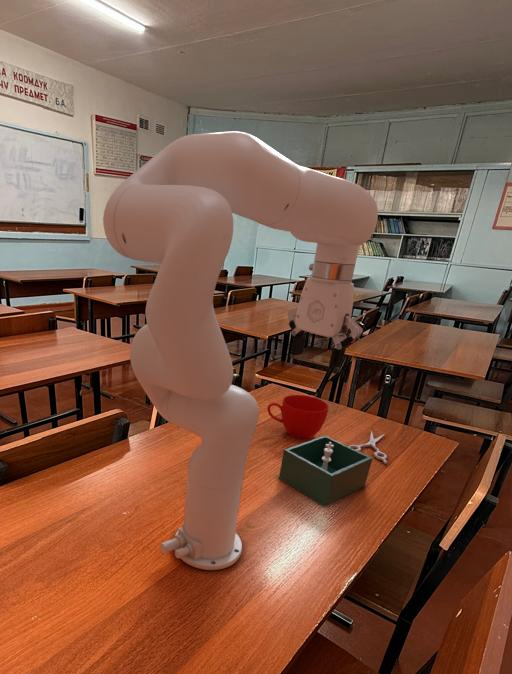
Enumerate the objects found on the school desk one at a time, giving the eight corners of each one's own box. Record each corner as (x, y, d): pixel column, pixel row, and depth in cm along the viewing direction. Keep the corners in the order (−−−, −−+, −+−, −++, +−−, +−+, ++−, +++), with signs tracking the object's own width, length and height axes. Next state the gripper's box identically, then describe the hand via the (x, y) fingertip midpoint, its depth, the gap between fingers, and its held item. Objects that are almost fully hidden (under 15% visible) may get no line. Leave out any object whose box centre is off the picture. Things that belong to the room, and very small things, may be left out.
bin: (324, 506, 96) (332, 476, 92) (278, 478, 105) (283, 449, 102) (364, 486, 105) (372, 458, 101) (319, 461, 114) (325, 435, 111)
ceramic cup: (264, 421, 135) (268, 391, 131) (319, 428, 134) (325, 397, 130) (264, 439, 124) (269, 406, 120) (324, 447, 122) (331, 414, 118)
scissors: (346, 450, 120) (360, 425, 136) (345, 452, 120) (360, 428, 136) (386, 462, 115) (397, 435, 131) (386, 464, 115) (396, 437, 131)
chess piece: (333, 486, 102) (342, 448, 98) (311, 483, 102) (320, 445, 98) (331, 476, 106) (340, 439, 102) (310, 472, 107) (318, 436, 103)
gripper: (284, 267, 86) (271, 351, 93) (361, 279, 74) (339, 375, 81) (308, 267, 90) (294, 348, 98) (384, 279, 78) (362, 370, 86)
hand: (315, 360), depth 89 cm, fingers open, 9 cm apart
